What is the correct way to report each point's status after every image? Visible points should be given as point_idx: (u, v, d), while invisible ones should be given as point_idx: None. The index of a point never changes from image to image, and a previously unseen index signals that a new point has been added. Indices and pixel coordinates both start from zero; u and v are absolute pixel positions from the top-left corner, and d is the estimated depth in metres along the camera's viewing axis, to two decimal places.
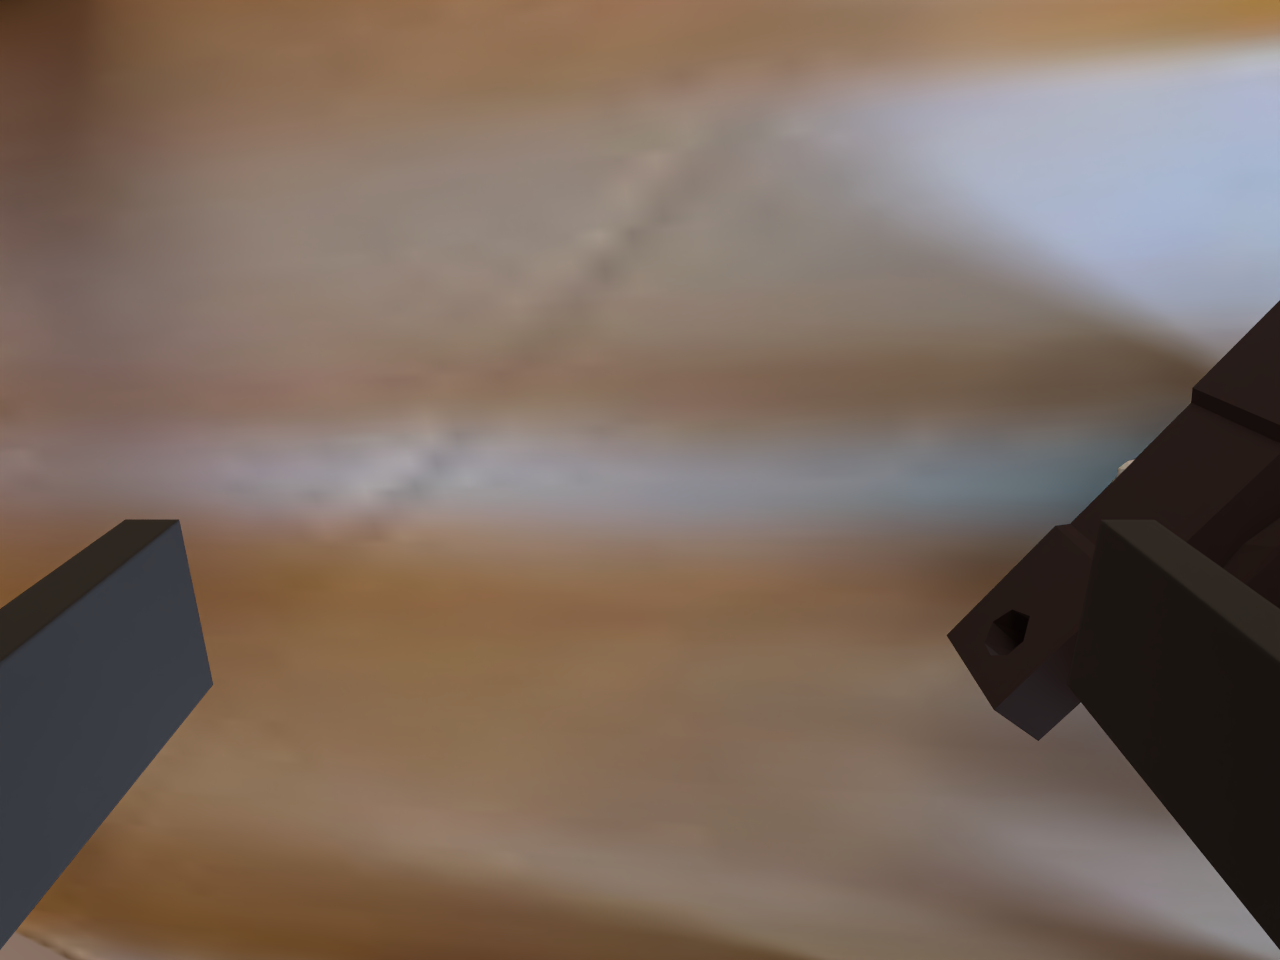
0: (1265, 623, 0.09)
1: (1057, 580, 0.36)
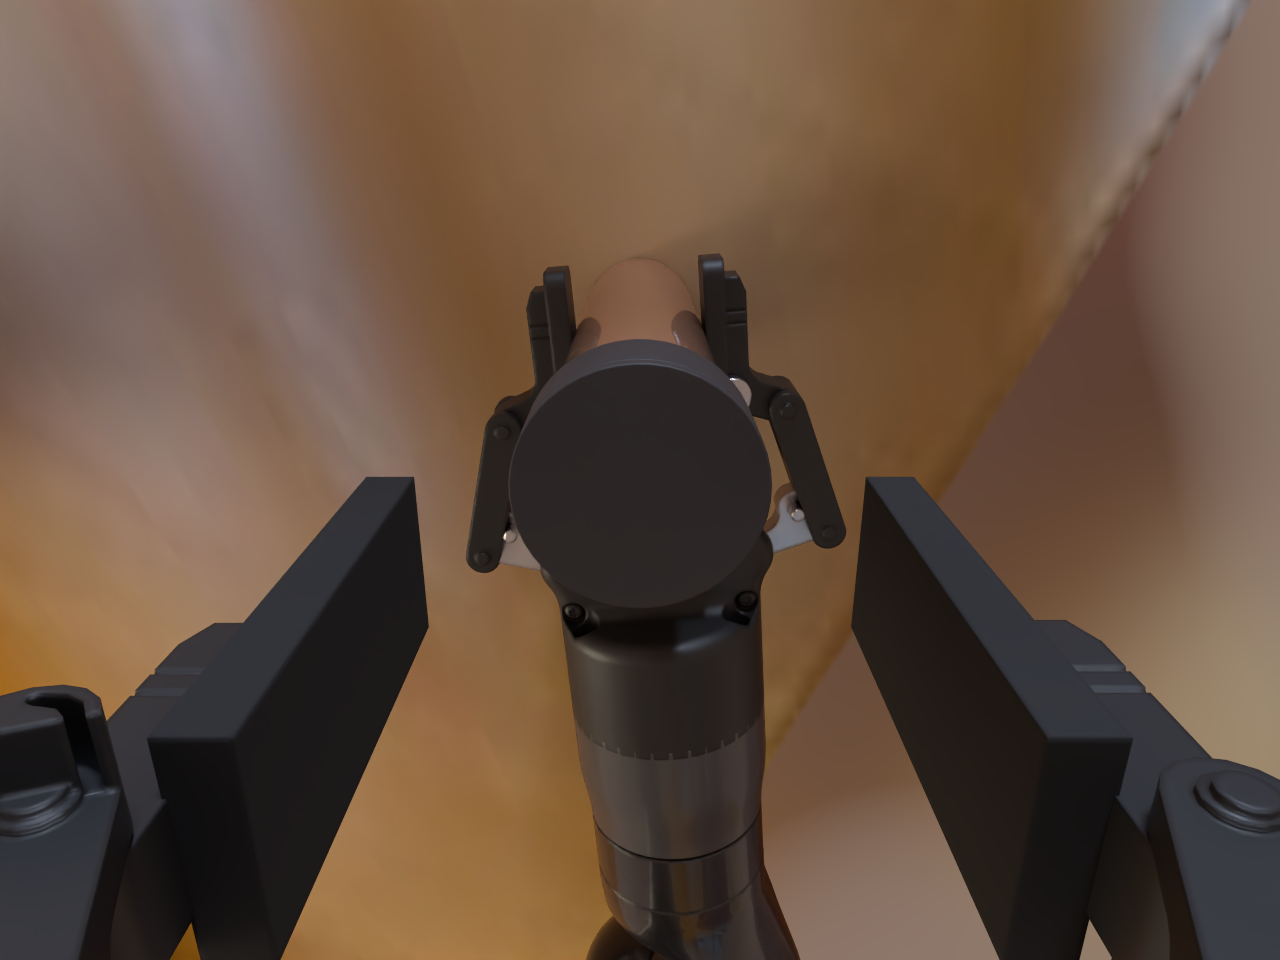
0: (950, 555, 0.11)
1: None
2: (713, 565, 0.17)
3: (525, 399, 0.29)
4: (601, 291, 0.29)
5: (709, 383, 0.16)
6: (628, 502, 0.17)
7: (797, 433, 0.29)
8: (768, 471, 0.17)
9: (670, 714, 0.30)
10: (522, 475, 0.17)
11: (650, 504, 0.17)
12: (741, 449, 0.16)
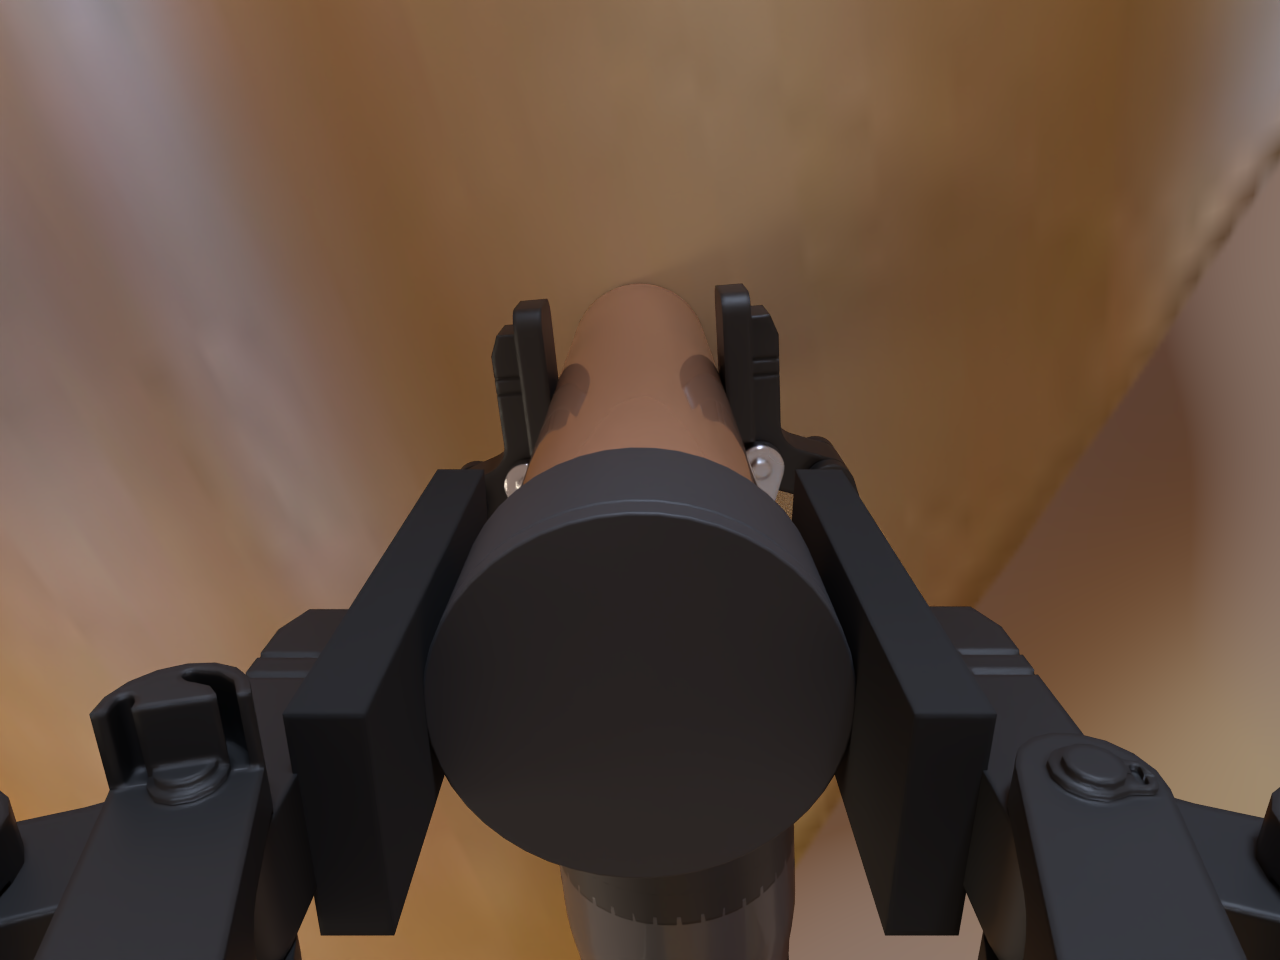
0: (860, 543, 0.11)
1: None
2: (757, 817, 0.11)
3: (492, 470, 0.23)
4: (590, 331, 0.23)
5: (757, 545, 0.09)
6: (620, 726, 0.10)
7: None
8: (853, 679, 0.10)
9: None
10: (445, 687, 0.10)
11: (656, 729, 0.10)
12: (808, 647, 0.10)
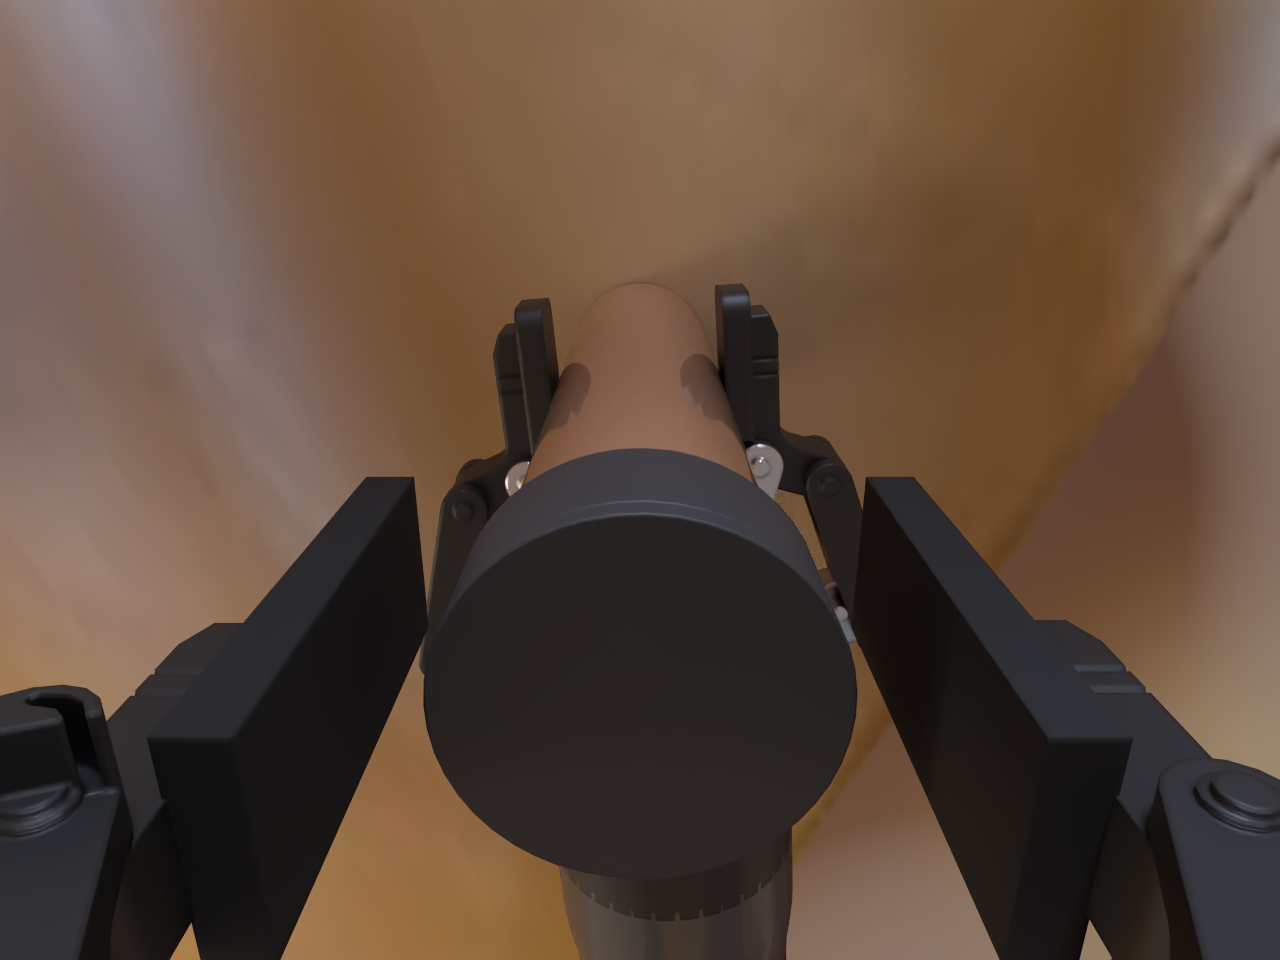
0: (950, 555, 0.11)
1: None
2: (813, 649, 0.10)
3: (493, 468, 0.23)
4: (590, 330, 0.23)
5: (493, 565, 0.09)
6: (650, 733, 0.10)
7: (841, 514, 0.23)
8: (678, 519, 0.09)
9: None
10: (553, 847, 0.11)
11: (666, 705, 0.10)
12: (623, 550, 0.09)
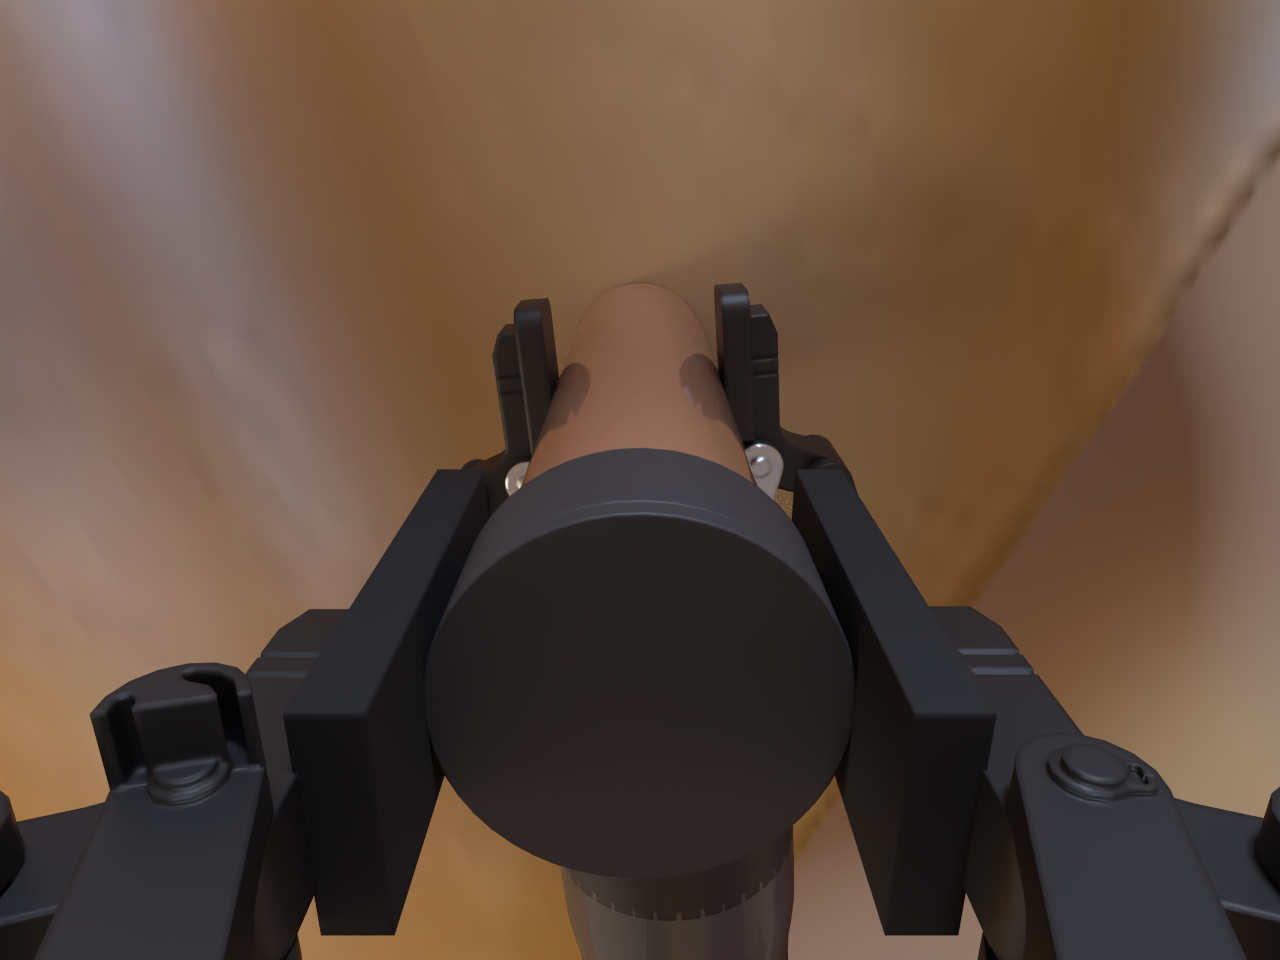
0: (859, 543, 0.11)
1: None
2: (812, 648, 0.10)
3: (493, 469, 0.23)
4: (590, 330, 0.23)
5: (492, 565, 0.09)
6: (649, 732, 0.10)
7: None
8: (676, 519, 0.09)
9: None
10: (553, 847, 0.11)
11: (665, 704, 0.10)
12: (622, 550, 0.09)
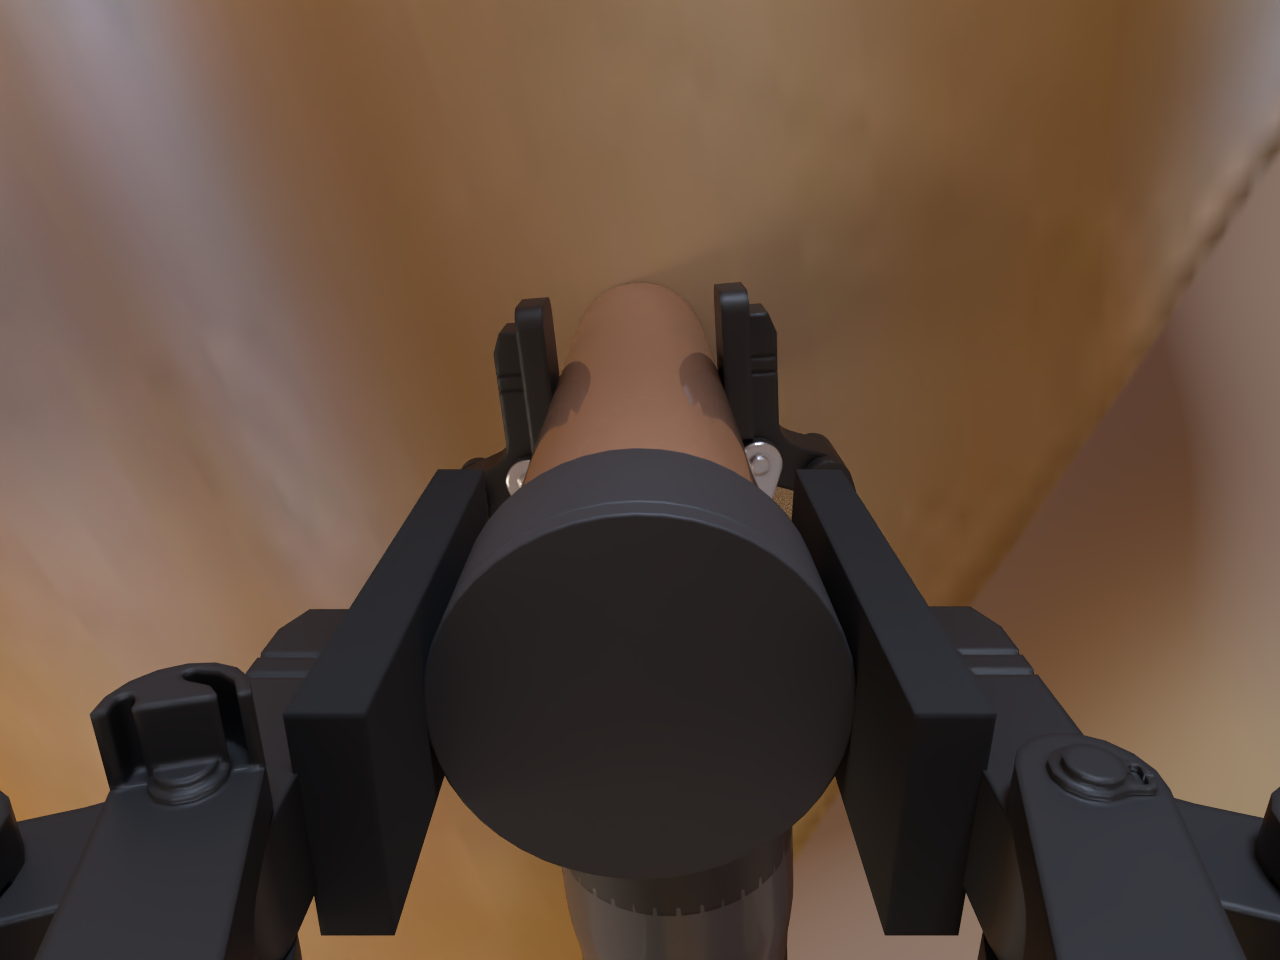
0: (860, 543, 0.11)
1: None
2: (625, 547, 0.09)
3: (494, 467, 0.23)
4: (590, 329, 0.23)
5: (445, 774, 0.10)
6: (665, 711, 0.10)
7: None
8: (443, 623, 0.10)
9: None
10: (762, 828, 0.11)
11: (639, 689, 0.10)
12: (462, 674, 0.10)
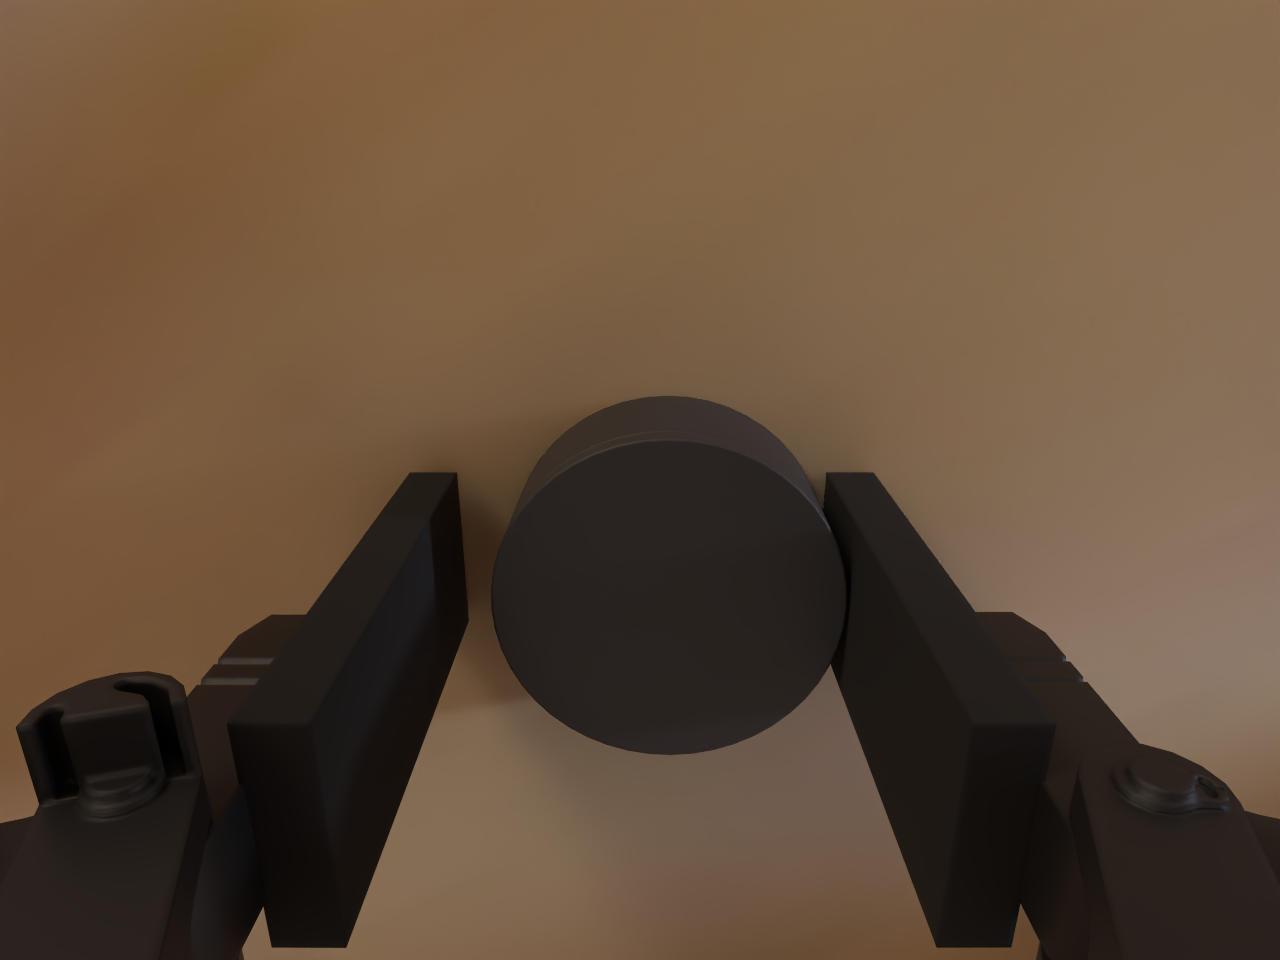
0: (899, 548, 0.11)
1: None
2: (658, 466, 0.12)
3: None
4: None
5: (507, 659, 0.13)
6: (689, 607, 0.12)
7: None
8: (510, 529, 0.12)
9: None
10: (769, 710, 0.13)
11: (668, 588, 0.12)
12: (524, 573, 0.12)
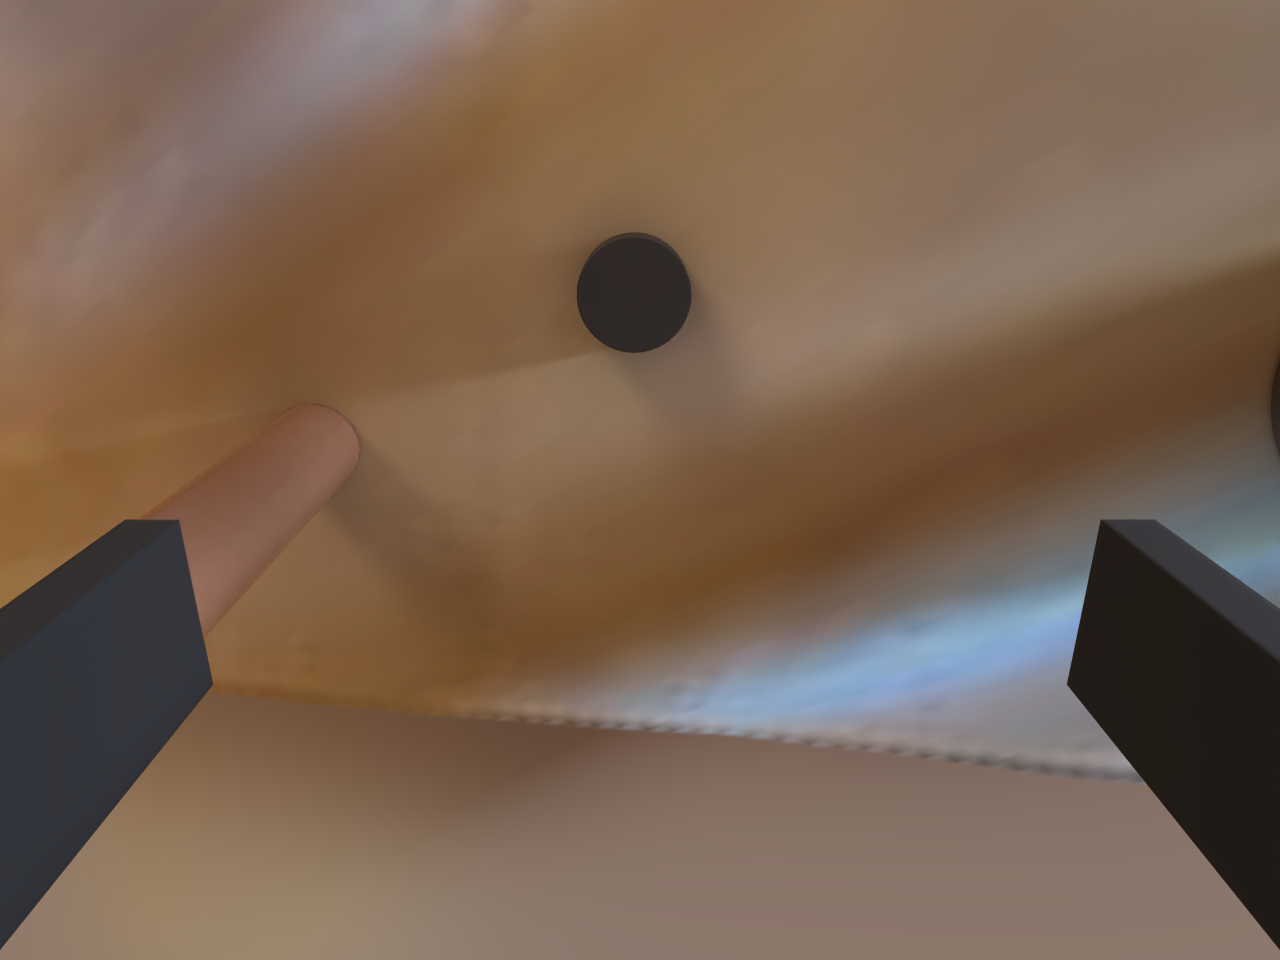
0: (1265, 623, 0.09)
1: None
2: (630, 246, 0.38)
3: None
4: (291, 449, 0.37)
5: (581, 316, 0.39)
6: (640, 295, 0.38)
7: None
8: (583, 268, 0.38)
9: None
10: (668, 334, 0.39)
11: (633, 288, 0.38)
12: (587, 284, 0.38)
